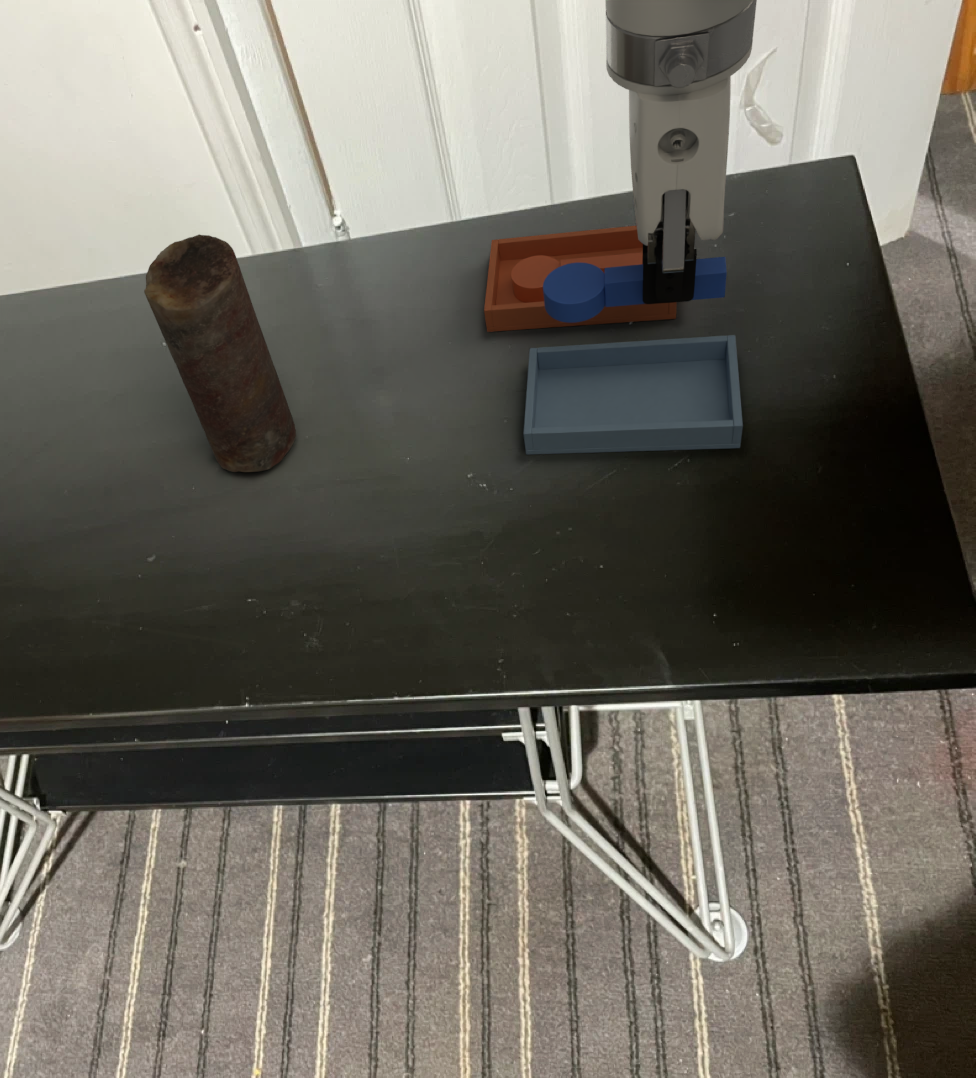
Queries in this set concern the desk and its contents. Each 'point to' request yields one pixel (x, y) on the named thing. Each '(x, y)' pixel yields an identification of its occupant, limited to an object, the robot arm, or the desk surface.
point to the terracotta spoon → (537, 268)
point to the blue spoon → (616, 287)
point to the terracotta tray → (506, 253)
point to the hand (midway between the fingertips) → (667, 286)
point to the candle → (220, 352)
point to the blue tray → (634, 396)
